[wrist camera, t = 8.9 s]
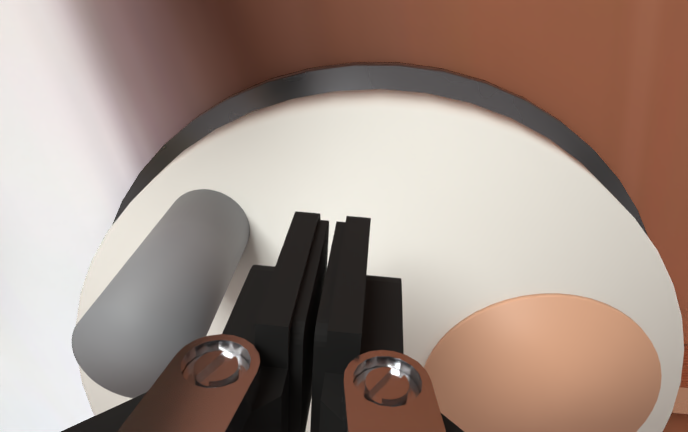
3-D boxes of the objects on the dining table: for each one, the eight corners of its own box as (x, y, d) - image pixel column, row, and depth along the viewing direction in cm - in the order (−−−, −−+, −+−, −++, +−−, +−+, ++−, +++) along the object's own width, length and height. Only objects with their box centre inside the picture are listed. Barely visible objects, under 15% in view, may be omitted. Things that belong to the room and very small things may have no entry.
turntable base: (825, 92, 16) (892, 114, 14) (623, 528, 26) (646, 580, 24) (65, 39, 17) (19, 52, 15) (139, 484, 26) (118, 531, 24)
